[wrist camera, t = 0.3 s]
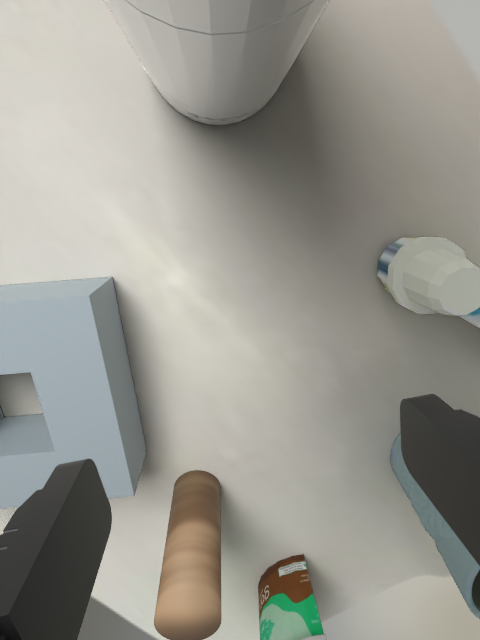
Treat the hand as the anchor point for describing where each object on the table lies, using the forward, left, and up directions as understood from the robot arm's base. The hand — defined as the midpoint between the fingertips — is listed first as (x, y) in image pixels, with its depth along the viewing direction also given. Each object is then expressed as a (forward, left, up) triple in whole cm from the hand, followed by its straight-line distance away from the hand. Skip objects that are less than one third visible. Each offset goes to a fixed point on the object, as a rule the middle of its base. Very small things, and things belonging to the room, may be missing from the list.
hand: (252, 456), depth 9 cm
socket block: (+7, -17, -19) cm, 26 cm away
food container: (+35, +2, -19) cm, 40 cm away
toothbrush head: (+5, +22, -19) cm, 30 cm away
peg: (+20, -5, -19) cm, 28 cm away
